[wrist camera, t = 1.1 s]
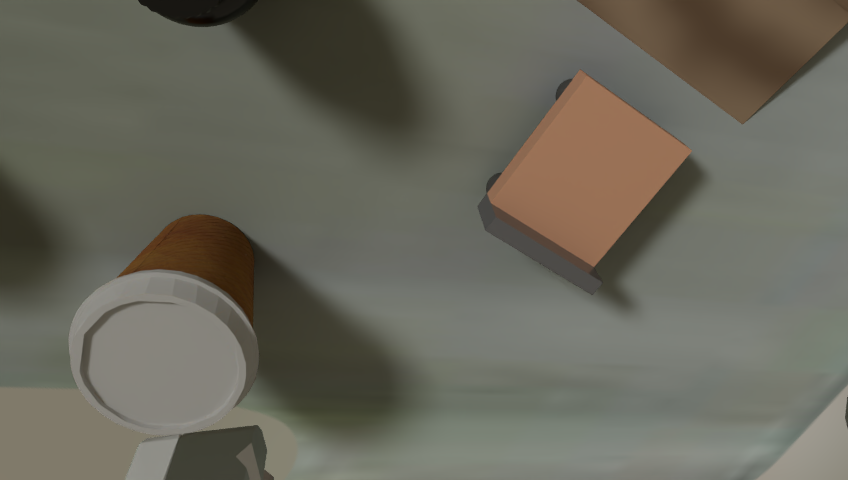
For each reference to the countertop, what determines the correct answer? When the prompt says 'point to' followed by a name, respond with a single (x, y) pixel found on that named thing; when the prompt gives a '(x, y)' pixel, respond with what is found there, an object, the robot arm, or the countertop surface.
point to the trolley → (580, 180)
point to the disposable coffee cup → (171, 331)
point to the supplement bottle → (199, 10)
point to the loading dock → (728, 41)
